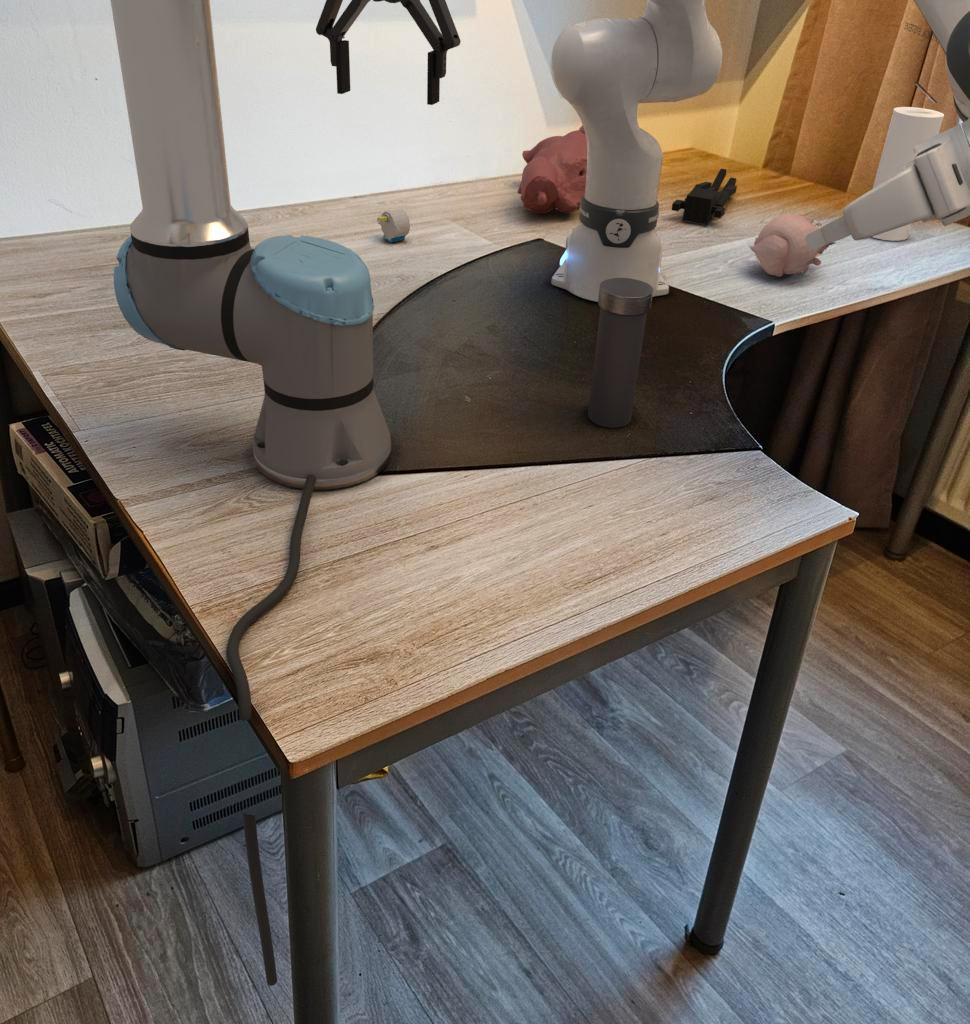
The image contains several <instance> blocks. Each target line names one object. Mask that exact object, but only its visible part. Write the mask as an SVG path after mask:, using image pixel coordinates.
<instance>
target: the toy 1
mask: <svg viewBox="0 0 970 1024" xmlns="http://www.w3.org/2000/svg"><path fill="white" fill-rule="evenodd" d="M727 171H728V170H727V169H726V168H720V169H719V171H718V173H717V175H716V177H715V178H714V180H713V182H710V181H704V182H700V183H697V184H695V185H694V187H693V188H692V190H691V191H690V192H688V193H687V195H686V197H685V198H684V200H683V199H676V200H674V201H673V202H672V205H671V211H673V212H680V210H683V216H682V221H683V222H687V223H693V224H699V225H706V226H707V225H709V223H711V221H712V220H713V218H716V219H722V217H723V216H724V215H725V212H726V204H727V203H728V201H729V199H730V198H731V197H732V196H734V195H735V194H736V193H737V188H738V185H736V182H737V177H732V176H731V177H730V178H729V179H728V180H727V182H726V183H725V185H724V187H723V188H722V190H719V189H720V188H721V186H722V184H723V181H724V180H725V178H726V176H727Z"/></svg>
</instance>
